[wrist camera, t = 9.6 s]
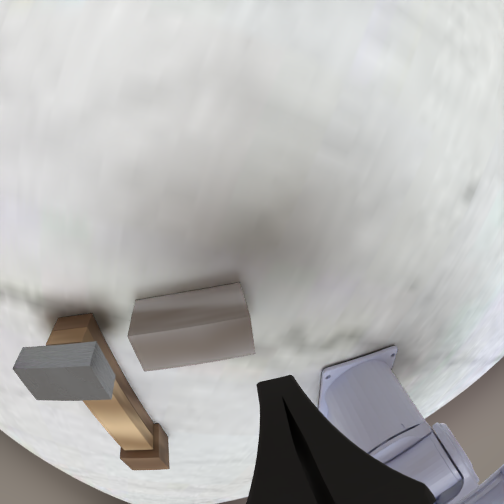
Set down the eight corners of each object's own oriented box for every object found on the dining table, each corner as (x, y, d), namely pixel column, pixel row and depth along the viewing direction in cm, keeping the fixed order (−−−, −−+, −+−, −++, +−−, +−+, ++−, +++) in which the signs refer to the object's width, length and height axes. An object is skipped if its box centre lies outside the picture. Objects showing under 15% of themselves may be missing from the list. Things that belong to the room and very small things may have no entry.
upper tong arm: (153, 436, 23) (153, 449, 22) (125, 437, 23) (124, 450, 22) (87, 326, 17) (81, 341, 16) (52, 330, 17) (45, 344, 15)
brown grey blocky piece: (261, 423, 27) (270, 454, 24) (133, 439, 26) (132, 470, 22) (239, 282, 19) (251, 320, 16) (50, 312, 18) (31, 349, 14)
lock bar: (115, 375, 16) (111, 399, 15) (44, 378, 16) (36, 399, 14) (96, 341, 15) (89, 365, 13) (22, 347, 14) (12, 368, 13)
